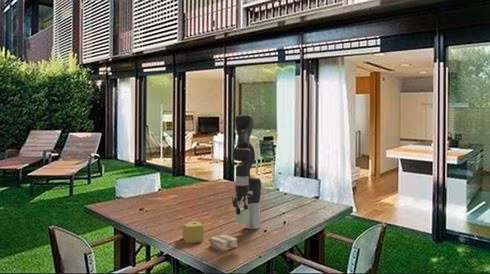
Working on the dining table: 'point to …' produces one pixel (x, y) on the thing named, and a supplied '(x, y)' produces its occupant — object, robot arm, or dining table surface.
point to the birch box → (223, 242)
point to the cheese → (193, 232)
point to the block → (242, 216)
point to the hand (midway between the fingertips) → (241, 213)
